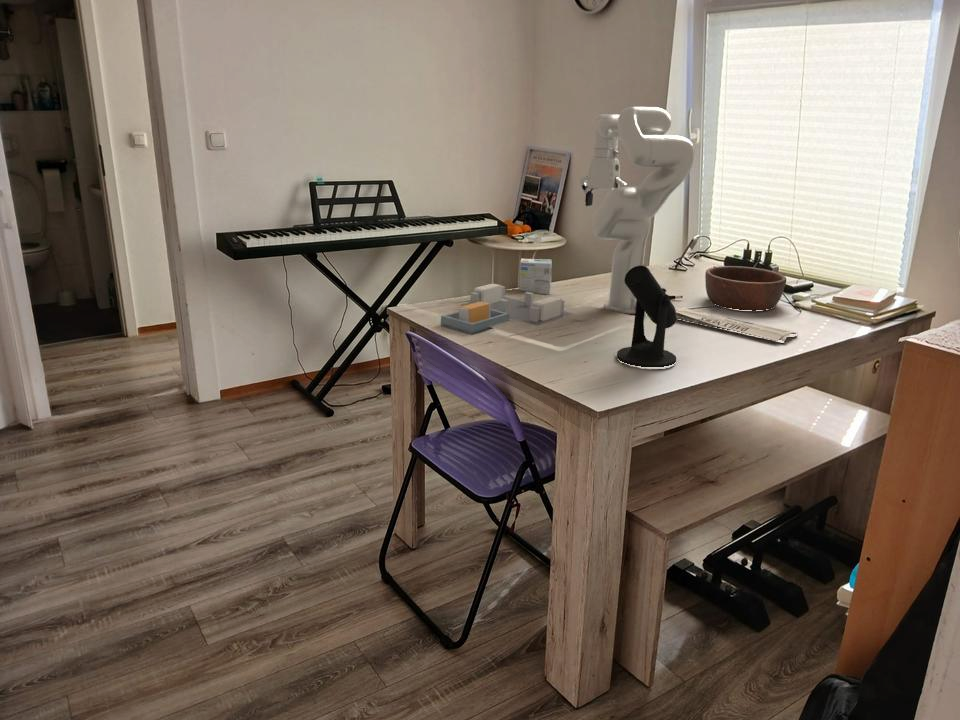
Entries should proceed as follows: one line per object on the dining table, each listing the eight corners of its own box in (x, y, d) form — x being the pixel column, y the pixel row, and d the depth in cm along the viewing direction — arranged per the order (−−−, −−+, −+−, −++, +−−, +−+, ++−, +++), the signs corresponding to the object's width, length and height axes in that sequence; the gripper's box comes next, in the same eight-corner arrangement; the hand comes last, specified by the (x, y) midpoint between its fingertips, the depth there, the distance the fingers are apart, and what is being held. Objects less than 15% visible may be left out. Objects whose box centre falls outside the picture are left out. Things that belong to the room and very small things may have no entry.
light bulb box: (550, 290, 264) (552, 259, 260) (550, 295, 258) (552, 263, 254) (519, 288, 265) (520, 257, 261) (518, 293, 259) (519, 261, 255)
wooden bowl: (749, 293, 268) (753, 264, 264) (798, 312, 245) (804, 280, 242) (687, 297, 260) (690, 267, 257) (732, 317, 238) (736, 284, 234)
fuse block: (573, 316, 233) (574, 300, 231) (537, 328, 220) (538, 311, 219) (497, 298, 252) (498, 283, 250) (460, 308, 239) (460, 292, 237)
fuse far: (502, 300, 245) (502, 285, 243) (481, 306, 238) (482, 290, 236) (493, 298, 247) (494, 283, 246) (473, 303, 240) (473, 288, 238)
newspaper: (796, 338, 220) (798, 326, 219) (780, 348, 211) (782, 336, 210) (683, 313, 241) (684, 302, 240) (664, 321, 232) (665, 310, 231)
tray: (508, 323, 224) (509, 313, 223) (472, 335, 213) (472, 324, 212) (477, 315, 232) (478, 305, 231) (440, 325, 220) (441, 315, 219)
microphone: (600, 357, 198) (608, 261, 189) (647, 347, 207) (657, 255, 199) (643, 375, 186) (653, 273, 178) (690, 362, 196) (702, 266, 187)
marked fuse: (490, 319, 225) (491, 303, 223) (467, 326, 217) (467, 309, 216) (481, 317, 227) (482, 300, 225) (458, 324, 220) (458, 307, 218)
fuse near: (561, 314, 231) (562, 298, 229) (541, 321, 224) (542, 304, 222) (551, 312, 233) (552, 296, 232) (531, 318, 226) (532, 302, 224)
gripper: (634, 155, 248) (629, 209, 253) (589, 151, 258) (585, 203, 264) (622, 156, 242) (617, 211, 248) (576, 152, 253) (573, 205, 259)
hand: (601, 207), depth 256 cm, fingers open, 9 cm apart
